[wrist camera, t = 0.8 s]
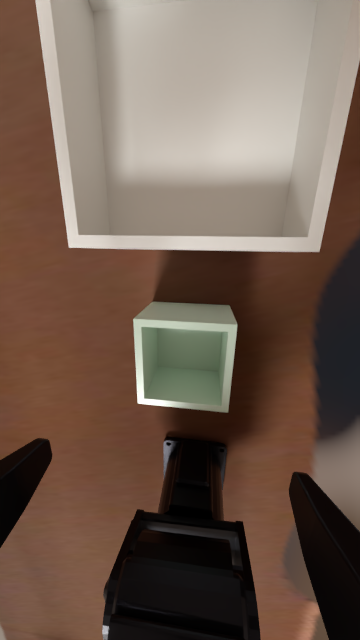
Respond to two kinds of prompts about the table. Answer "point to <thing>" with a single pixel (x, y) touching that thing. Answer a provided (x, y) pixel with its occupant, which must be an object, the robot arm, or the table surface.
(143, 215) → the big crate
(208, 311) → the small crate
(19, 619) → the table surface
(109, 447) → the table surface
